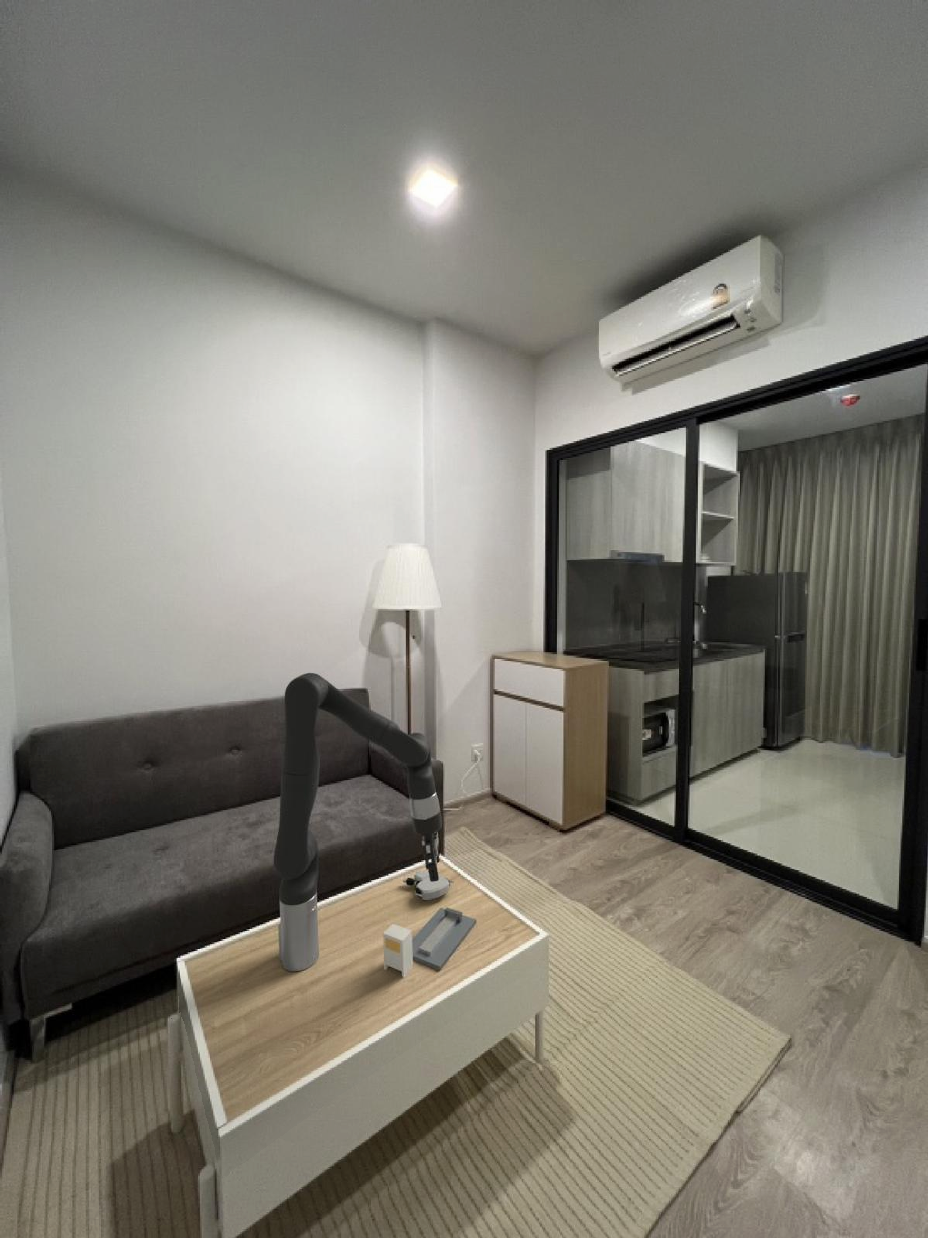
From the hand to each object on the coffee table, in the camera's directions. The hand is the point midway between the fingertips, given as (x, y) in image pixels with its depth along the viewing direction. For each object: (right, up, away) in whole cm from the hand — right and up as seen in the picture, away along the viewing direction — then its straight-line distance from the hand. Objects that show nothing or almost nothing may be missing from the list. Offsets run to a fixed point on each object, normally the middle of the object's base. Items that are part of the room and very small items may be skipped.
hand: (435, 871), depth 126 cm
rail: (+1, -22, +7) cm, 23 cm away
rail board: (+1, -22, +7) cm, 23 cm away
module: (-9, -23, -3) cm, 25 cm away
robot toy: (-4, -22, +29) cm, 37 cm away
